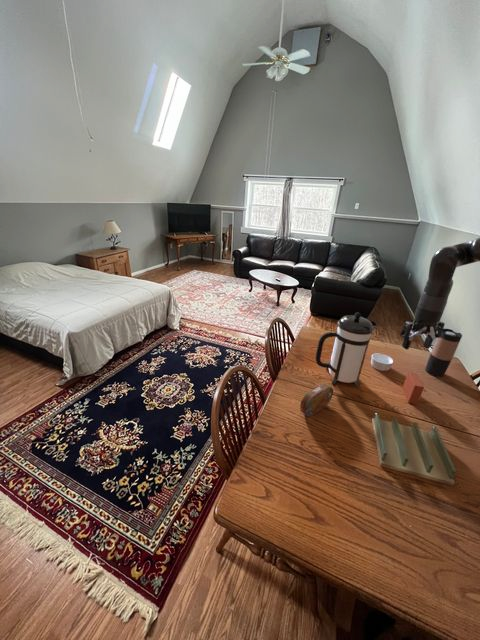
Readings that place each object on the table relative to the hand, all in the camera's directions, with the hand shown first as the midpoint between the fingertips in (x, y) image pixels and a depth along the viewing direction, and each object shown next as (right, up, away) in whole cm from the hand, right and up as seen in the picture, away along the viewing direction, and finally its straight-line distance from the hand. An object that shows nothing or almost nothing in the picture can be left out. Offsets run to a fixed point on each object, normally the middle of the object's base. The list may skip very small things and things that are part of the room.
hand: (415, 347), depth 97 cm
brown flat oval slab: (-37, -22, -2) cm, 43 cm away
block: (+2, -19, +7) cm, 21 cm away
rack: (-13, -29, -16) cm, 36 cm away
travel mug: (+23, -13, +22) cm, 35 cm away
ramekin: (0, -11, +25) cm, 27 cm away
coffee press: (-22, -15, +15) cm, 31 cm away
